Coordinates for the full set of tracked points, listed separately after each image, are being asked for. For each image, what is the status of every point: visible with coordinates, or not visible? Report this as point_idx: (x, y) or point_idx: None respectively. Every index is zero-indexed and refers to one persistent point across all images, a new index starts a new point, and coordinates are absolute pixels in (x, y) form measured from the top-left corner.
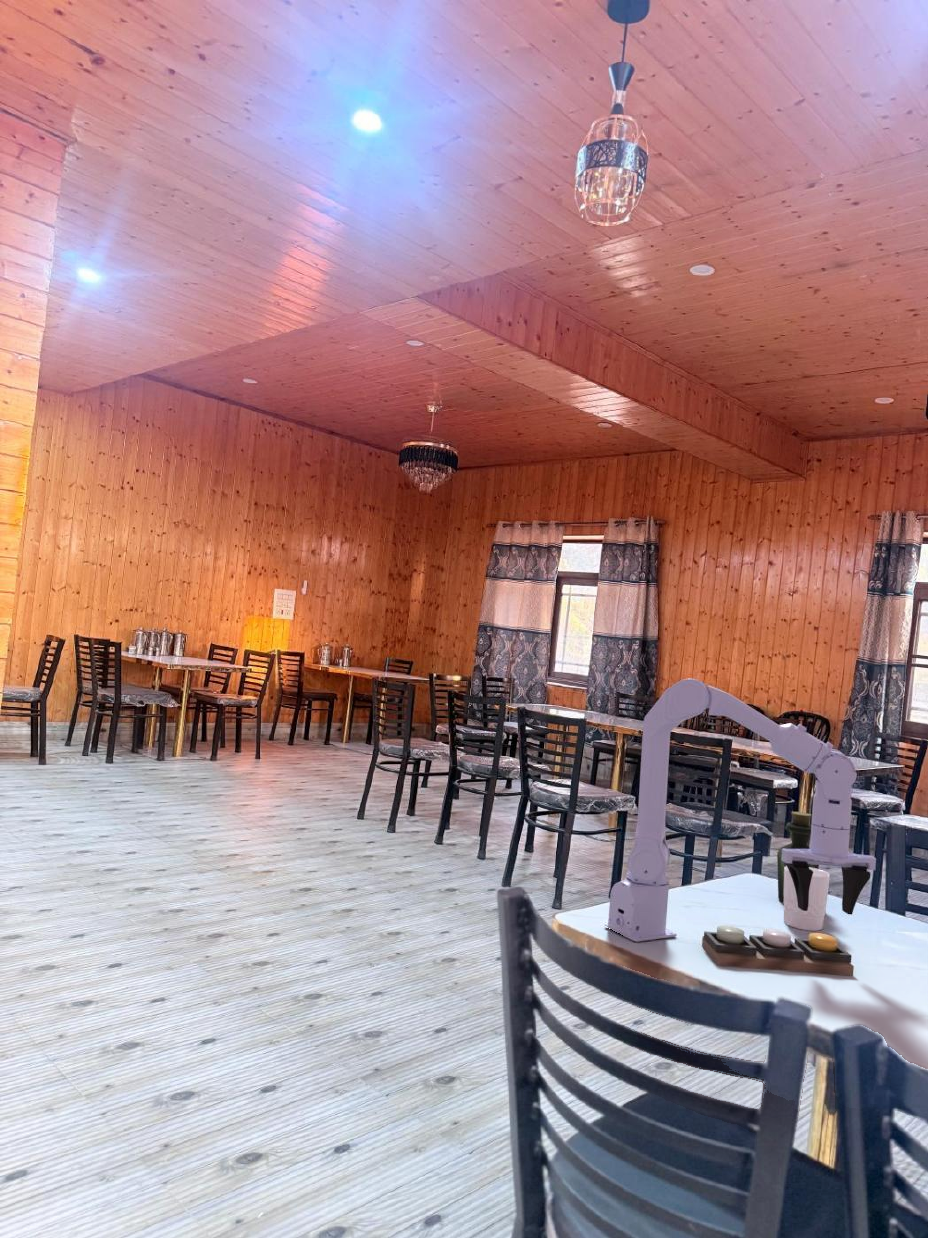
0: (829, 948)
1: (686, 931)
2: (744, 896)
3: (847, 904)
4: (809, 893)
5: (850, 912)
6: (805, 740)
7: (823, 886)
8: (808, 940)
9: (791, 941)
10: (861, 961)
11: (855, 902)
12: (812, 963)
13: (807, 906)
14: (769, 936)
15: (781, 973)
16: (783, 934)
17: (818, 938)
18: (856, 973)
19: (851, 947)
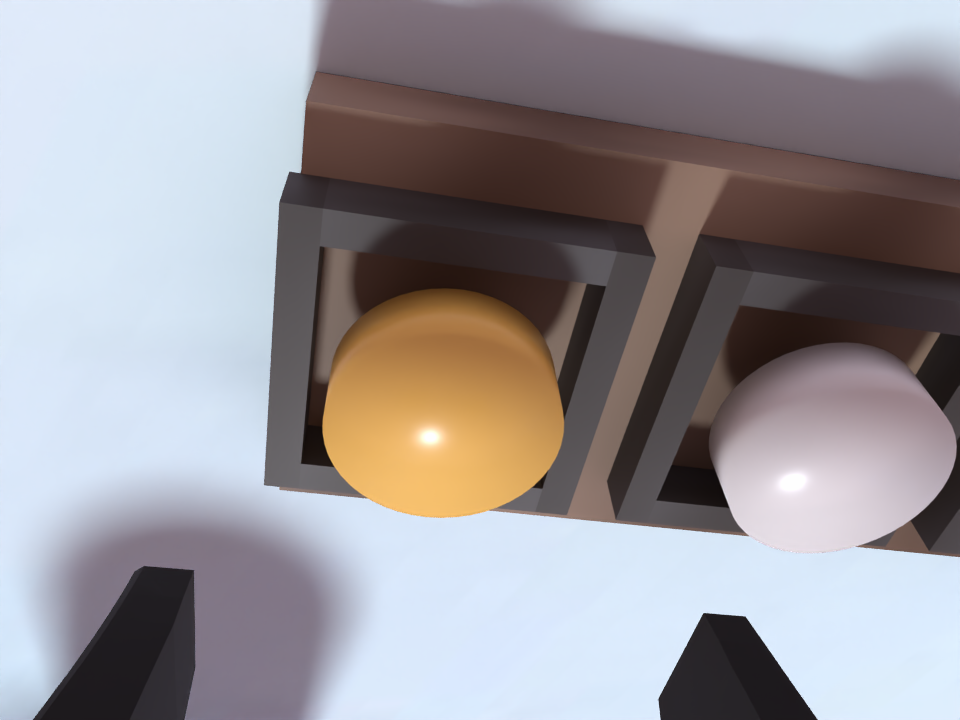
0: (453, 301)
1: (951, 680)
2: None
3: (161, 700)
4: None
5: (161, 585)
6: None
7: None
8: None
9: (643, 465)
10: (64, 367)
11: (57, 701)
12: (679, 158)
13: (735, 655)
14: (950, 432)
15: (942, 110)
16: (796, 465)
17: (515, 406)
18: (244, 135)
19: (22, 571)
